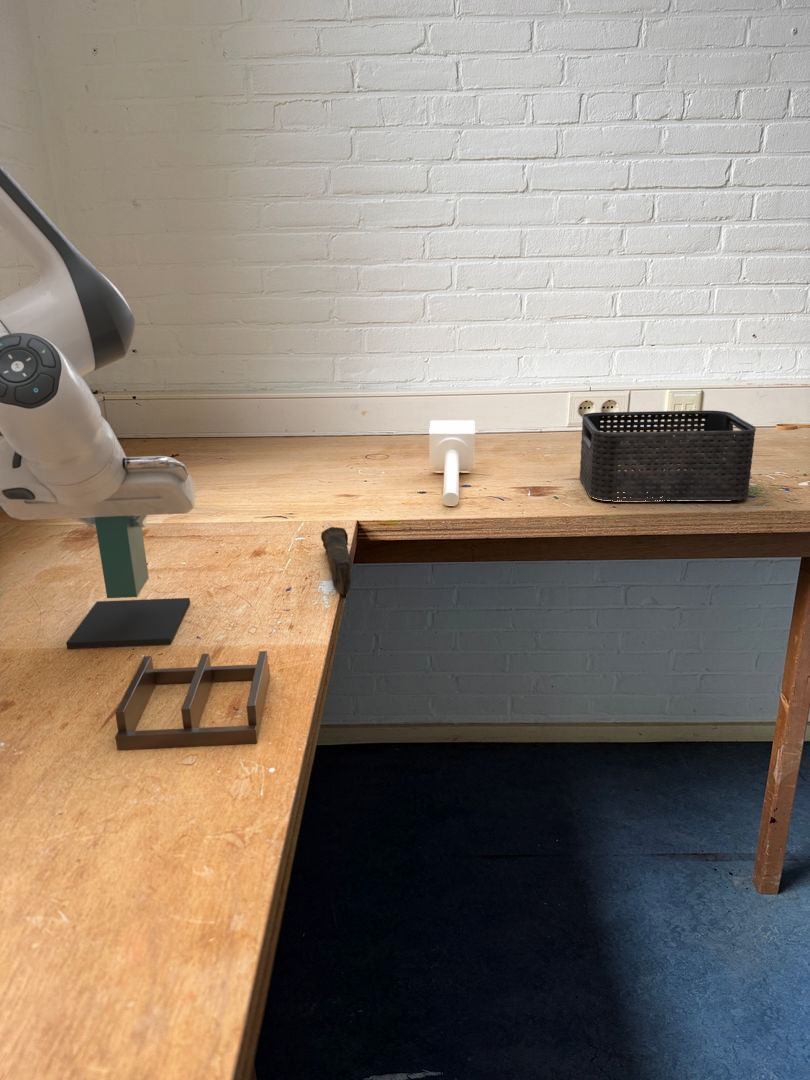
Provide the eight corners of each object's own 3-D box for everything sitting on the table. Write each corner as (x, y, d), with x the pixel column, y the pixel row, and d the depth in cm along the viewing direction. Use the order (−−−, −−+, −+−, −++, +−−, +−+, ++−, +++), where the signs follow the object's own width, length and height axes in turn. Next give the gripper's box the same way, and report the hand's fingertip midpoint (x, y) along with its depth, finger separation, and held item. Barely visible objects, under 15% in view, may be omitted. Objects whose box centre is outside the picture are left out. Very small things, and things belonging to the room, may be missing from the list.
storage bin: (591, 503, 144) (596, 430, 140) (576, 476, 163) (579, 410, 158) (753, 504, 143) (763, 430, 138) (719, 476, 161) (727, 409, 156)
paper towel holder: (474, 420, 169) (477, 477, 141) (473, 459, 173) (476, 522, 145) (430, 420, 170) (424, 477, 141) (430, 459, 174) (425, 521, 145)
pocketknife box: (107, 598, 95) (92, 510, 91) (120, 579, 100) (108, 495, 97) (136, 597, 95) (124, 508, 91) (148, 578, 100) (137, 494, 97)
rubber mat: (66, 648, 93) (65, 642, 93) (97, 606, 104) (96, 601, 104) (171, 644, 94) (170, 638, 93) (190, 603, 105) (189, 597, 105)
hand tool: (322, 550, 123) (320, 522, 122) (348, 549, 124) (346, 520, 122) (323, 600, 105) (321, 567, 104) (354, 598, 106) (352, 566, 104)
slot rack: (117, 750, 74) (112, 717, 72) (150, 681, 86) (146, 652, 84) (256, 743, 74) (254, 710, 73) (270, 675, 86) (267, 646, 85)
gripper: (183, 433, 84) (208, 496, 97) (-16, 439, 83) (36, 502, 96) (179, 485, 81) (206, 543, 94) (-26, 492, 80) (28, 550, 93)
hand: (118, 522), depth 95 cm, fingers closed on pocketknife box, 3 cm apart
